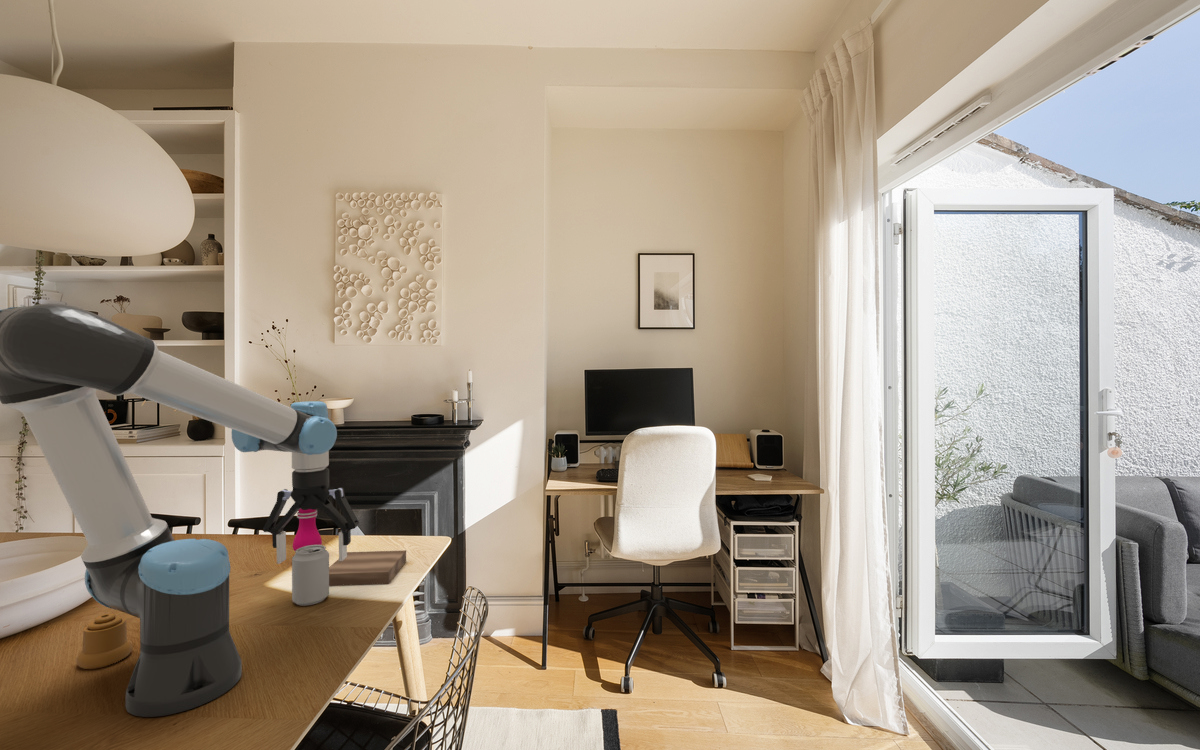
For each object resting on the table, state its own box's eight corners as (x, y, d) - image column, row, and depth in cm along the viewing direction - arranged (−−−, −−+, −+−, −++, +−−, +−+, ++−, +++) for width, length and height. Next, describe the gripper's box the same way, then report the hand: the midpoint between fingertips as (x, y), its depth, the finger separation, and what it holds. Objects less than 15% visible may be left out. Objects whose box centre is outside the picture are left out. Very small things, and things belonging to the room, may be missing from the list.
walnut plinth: (388, 583, 131) (388, 571, 131) (321, 586, 130) (321, 574, 130) (406, 561, 147) (406, 550, 147) (346, 563, 146) (346, 552, 146)
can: (313, 608, 118) (313, 554, 118) (284, 605, 119) (284, 552, 119) (336, 594, 125) (336, 544, 125) (308, 592, 127) (308, 542, 127)
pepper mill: (325, 559, 149) (325, 488, 149) (297, 566, 144) (297, 492, 144) (316, 553, 154) (316, 484, 154) (288, 559, 149) (288, 488, 149)
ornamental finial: (142, 648, 101) (110, 670, 93) (100, 650, 100) (64, 672, 93) (142, 606, 101) (110, 624, 93) (100, 607, 100) (64, 626, 93)
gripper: (372, 464, 127) (373, 552, 127) (262, 466, 125) (264, 556, 125) (361, 470, 119) (362, 563, 120) (244, 473, 117) (246, 568, 118)
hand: (312, 560), depth 122 cm, fingers open, 13 cm apart
